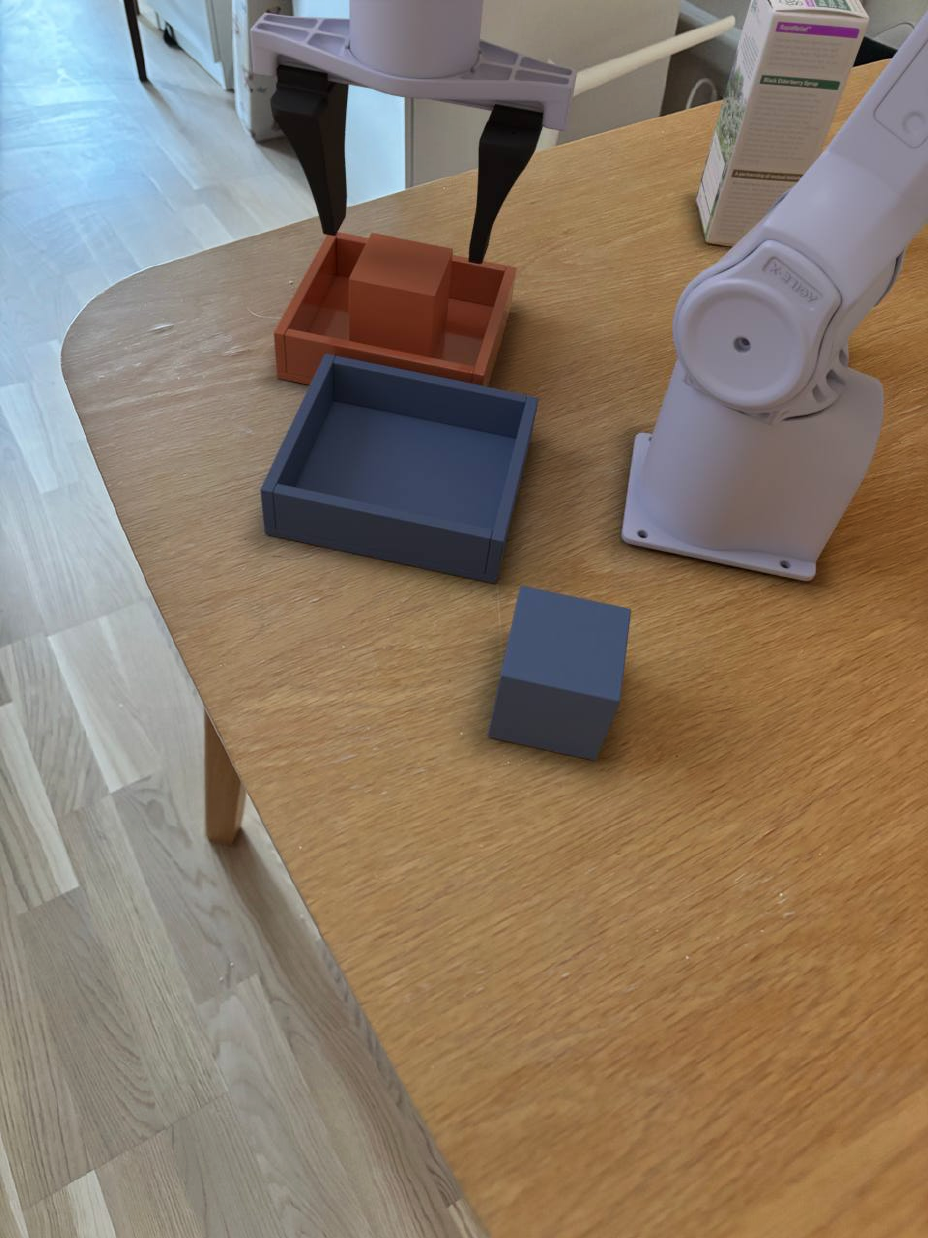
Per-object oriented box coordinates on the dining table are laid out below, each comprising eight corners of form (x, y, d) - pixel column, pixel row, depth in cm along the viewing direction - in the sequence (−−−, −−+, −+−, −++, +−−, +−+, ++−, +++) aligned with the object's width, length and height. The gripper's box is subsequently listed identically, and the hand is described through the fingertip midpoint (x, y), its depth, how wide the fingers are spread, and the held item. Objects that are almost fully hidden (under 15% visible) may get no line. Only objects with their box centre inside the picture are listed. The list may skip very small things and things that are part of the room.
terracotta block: (446, 319, 57) (453, 248, 53) (429, 368, 54) (435, 295, 50) (369, 304, 57) (371, 231, 53) (348, 351, 54) (348, 278, 50)
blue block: (608, 672, 43) (632, 608, 39) (596, 761, 40) (620, 701, 36) (506, 650, 43) (520, 584, 40) (487, 737, 40) (500, 674, 37)
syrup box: (787, 252, 65) (879, 15, 54) (700, 244, 65) (775, 4, 54) (771, 207, 69) (855, -25, 57) (690, 199, 69) (757, -35, 57)
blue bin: (530, 441, 52) (539, 396, 49) (496, 584, 45) (504, 541, 43) (325, 398, 52) (324, 352, 50) (264, 534, 46) (259, 489, 44)
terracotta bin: (510, 311, 59) (517, 266, 56) (478, 420, 52) (484, 375, 50) (329, 275, 59) (328, 229, 57) (276, 378, 53) (273, 332, 50)
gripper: (605, -70, 42) (554, 225, 52) (278, -126, 43) (294, 175, 53) (585, -9, 37) (534, 298, 48) (221, -73, 38) (251, 243, 49)
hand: (406, 239), depth 50 cm, fingers open, 7 cm apart
